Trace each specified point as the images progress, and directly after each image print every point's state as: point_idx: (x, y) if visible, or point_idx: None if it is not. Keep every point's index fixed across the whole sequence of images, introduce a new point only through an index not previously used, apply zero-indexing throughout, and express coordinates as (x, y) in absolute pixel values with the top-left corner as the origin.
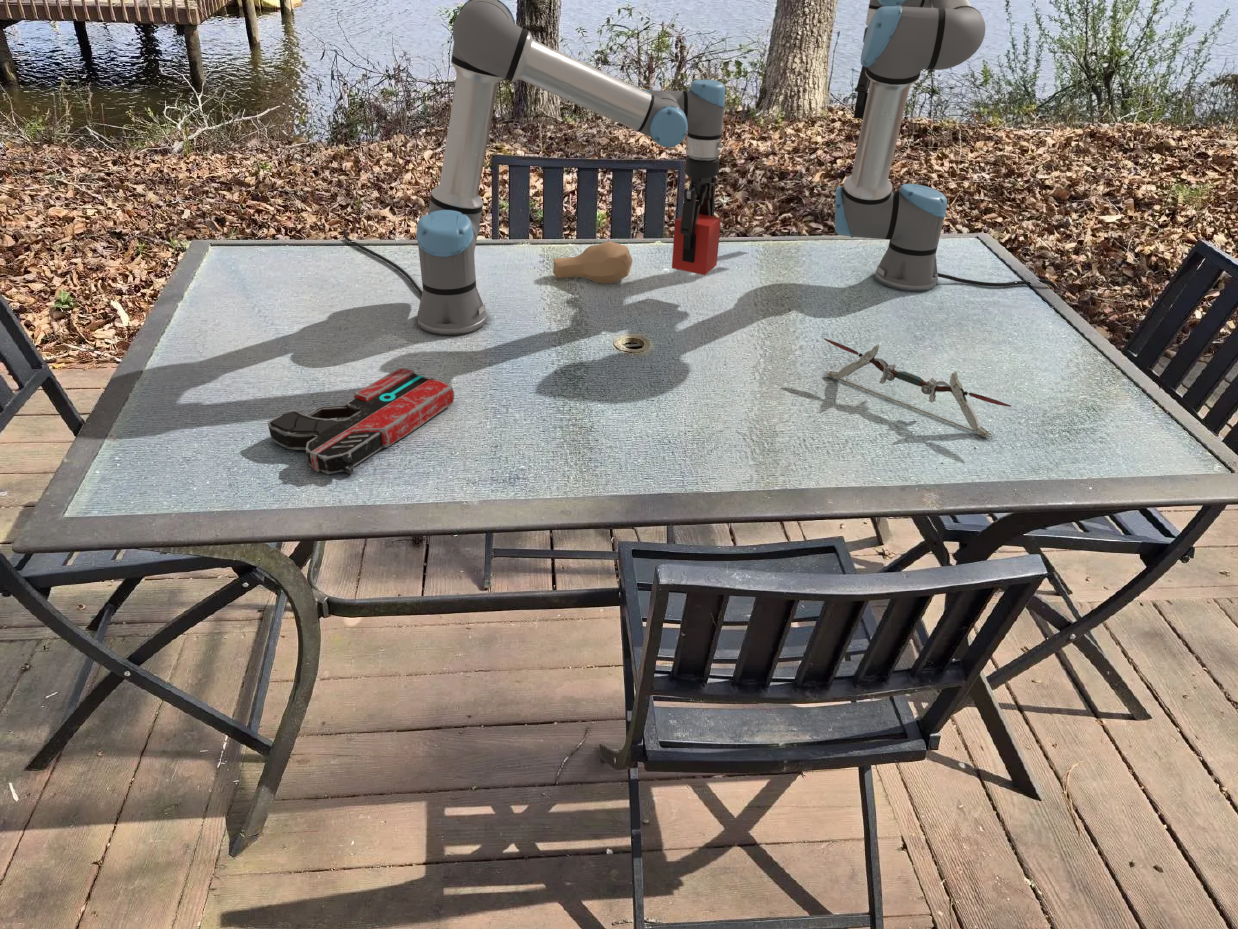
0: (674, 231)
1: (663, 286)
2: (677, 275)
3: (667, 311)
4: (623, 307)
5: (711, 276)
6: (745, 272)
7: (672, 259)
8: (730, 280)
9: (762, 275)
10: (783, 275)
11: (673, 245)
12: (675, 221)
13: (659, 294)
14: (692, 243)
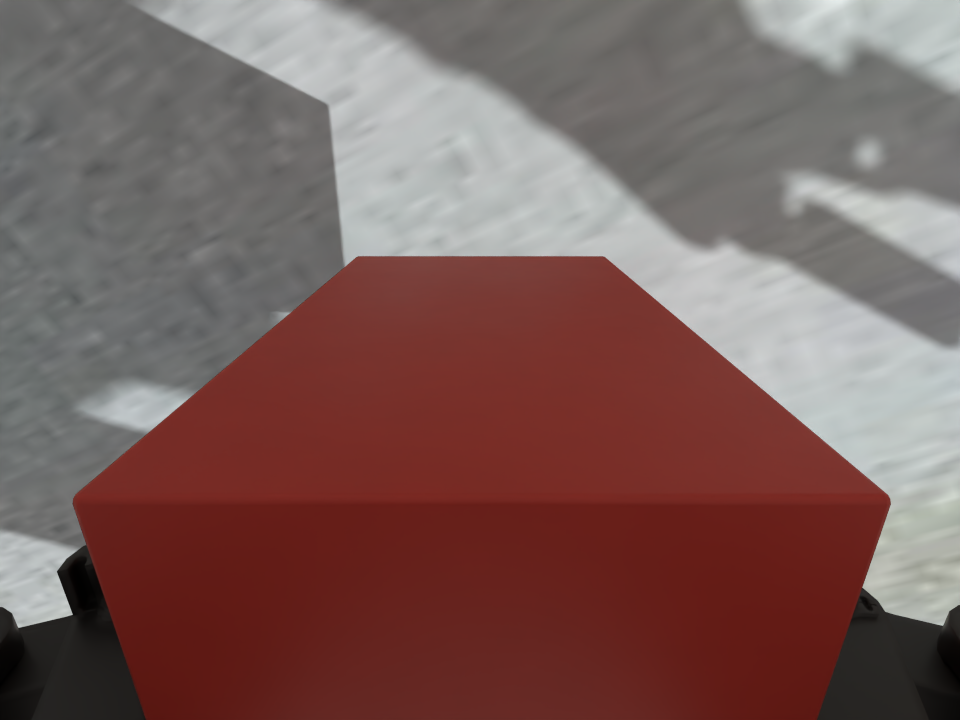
0: (213, 382)
1: (543, 108)
2: (756, 110)
3: (237, 284)
4: (110, 25)
5: (808, 302)
6: (921, 432)
7: (339, 273)
8: (783, 406)
9: (900, 508)
10: (926, 578)
11: (295, 311)
12: (91, 494)
13: (416, 142)
14: None
